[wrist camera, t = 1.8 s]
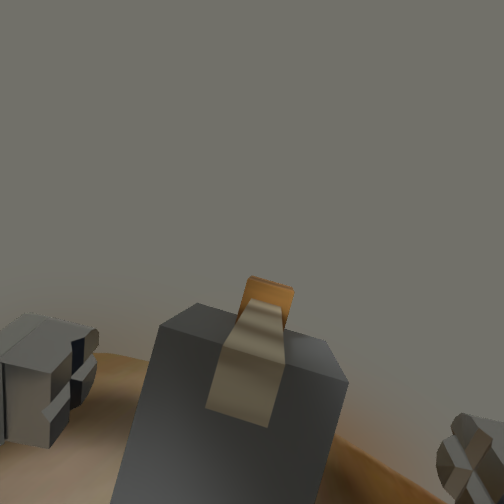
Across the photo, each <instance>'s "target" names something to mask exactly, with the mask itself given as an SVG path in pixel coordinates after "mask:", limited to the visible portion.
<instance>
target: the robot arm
mask: <svg viewBox="0 0 504 504" xmlns="http://www.w3.org/2000/svg"><path fill="white" fill-rule="evenodd" d="M98 345H99V332H98V330H97V329H96V328H92V327H88V326H84V325H80V324H77V323H72V322H69V321H65V320H61V319H57V318H51V317H48V316H44V315H40V314H35V313H24V314H22V315H21V316H20V317H18V318H17V319H16V320H14V321H13V322H11V323H10V324H9V325H7V326H6V327H5V328H3V329H2V330H0V446H1V445H3V444H4V443H5V441H9V442H14V443H20V444H25V445H30V446H35V447H40V448H45V449H50V447H51V446H52V445H53V443H54V442H55V440H56V439H57V438H58V436H59V435H60V433H61V432H62V431H63V429H64V428H65V427H66V425H67V424H68V422H69V411H70V410H72V409H74V408H76V407H78V406H80V405H81V404H82V403H83V401H84V400H85V398H86V397H87V395H88V393H89V391H90V389H91V387H92V384H93V382H94V379H95V374H96V370H97V361H96V359H95V357H94V356H93V354H92V353H93V351H94V350H95V349H96V348H97V346H98ZM451 429H452V432H453V435H452V436H450V437H448V438H447V439H445V440H443V441H442V443H441V445H440V447H439V449H438V451H437V459H436V468H437V472H438V476H439V479H440V481H441V484H442V486H443V488H444V489H445V490H446V491H447V492H448V493H449V494H450V495H451V496H452V497H453V498H454V499H455V504H504V422H500V421H495V420H491V419H487V418H482V417H478V416H473V415H468V414H465V413H461V414H459V415H458V416H456V417H455V419H454V421H453V422H452V424H451Z"/></svg>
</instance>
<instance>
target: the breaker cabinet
mask: <svg viewBox="0 0 504 504" xmlns="http://www.w3.org/2000/svg"><path fill="white" fill-rule="evenodd" d="M236 319H237V315H236V314H233V313H229V312H226V311H223V310H219V309H216V308H213V307H209V306H206V305H202V304H199V303H196V304H195V305H193V306H191V307H190V308H188V309H186V310H185V311H183V312H181V313H179V314H178V315H176V316H174V317H173V318H171V319H169V320H168V321H166V322H164V323H163V324H161V325H160V326H159V330H158V333H157V337H156V340H155V344H154V348H153V351H152V355H151V358H150V362H149V366H148V369H147V373H146V376H145V380H144V383H143V387H142V391H141V394H140V398H139V401H138V405H137V409H136V412H135V416H134V419H133V423H132V426H131V430H130V434H129V437H128V441H127V444H126V448H125V452H124V455H123V459H122V462H121V466H120V469H119V473H118V477H117V480H116V484H115V487H114V491H113V495H112V498H111V502H110V504H314V503H315V500H316V496H317V493H318V489H319V486H320V482H321V479H322V475H323V472H324V468H325V465H326V461H327V458H328V454H329V451H330V447H331V444H332V440H333V437H334V433H335V429H336V426H337V423H338V419H339V415H340V412H341V409H342V405H343V402H344V398H345V394H346V391H347V387H348V384H349V382H348V380H347V378H346V376H345V375H344V373H343V371H342V369H341V368H340V366H339V364H338V362H337V361H336V359H335V357H334V355H333V353H332V351H331V350H330V348H329V346H328V344H327V342H326V341H324V340H321V339H317V338H314V337H310V336H307V335H304V334H300V333H297V332H294V331H290V330H287V329H284V331H283V340H284V354H285V368H284V371H283V375H282V378H281V382H280V385H279V389H278V392H277V396H276V399H275V403H274V406H273V410H272V413H271V417H270V420H269V424H268V428H266V427H263V426H260V425H257V424H254V423H251V422H247V421H244V420H241V419H238V418H235V417H232V416H229V415H225V414H222V413H219V412H216V411H213V410H210V409H207V408H205V406H206V403H207V399H208V395H209V392H210V388H211V385H212V381H213V378H214V374H215V371H216V367H217V363H218V360H219V356H220V353H221V349H222V346H223V344H224V342H225V341H226V339H227V337H228V336H229V334H230V333H231V331H232V329H233V328H234V326H235V322H236Z"/></svg>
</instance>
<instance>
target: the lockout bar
mask: <svg viewBox="0 0 504 504" xmlns="http://www.w3.org/2000/svg"><path fill="white" fill-rule="evenodd" d="M293 296H294V290H293V288H292V287H290V286H286V285H283V284H279V283H276V282H273V281H269V280H265V279H262V278H258V277H255V276H251V277H249V278H248V280H247V283H246V287H245V291H244V294H243V297H242V301H241V305H240V308H239V312H238V315H237V319H236V322H235V326H234V328H233V329H232V331H231V333H230V334H229V336H228V337H227V339H226V341H225V342H224V344H223V346H222V349H221V353H220V356H219V360H218V363H217V367H216V371H215V374H214V378H213V381H212V385H211V388H210V392H209V395H208V399H207V403H206V406H205V408H207V409H210V410H213V411H216V412H219V413H222V414H225V415H229V416H232V417H235V418H238V419H241V420H244V421H247V422H251V423H254V424H257V425H260V426H263V427H266V428H268V424H269V420H270V417H271V413H272V410H273V406H274V403H275V399H276V396H277V392H278V389H279V385H280V382H281V378H282V375H283V371H284V368H285V354H284V340H283V331H284V328H285V324H286V321H287V317H288V314H289V310H290V307H291V303H292V300H293Z"/></svg>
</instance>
